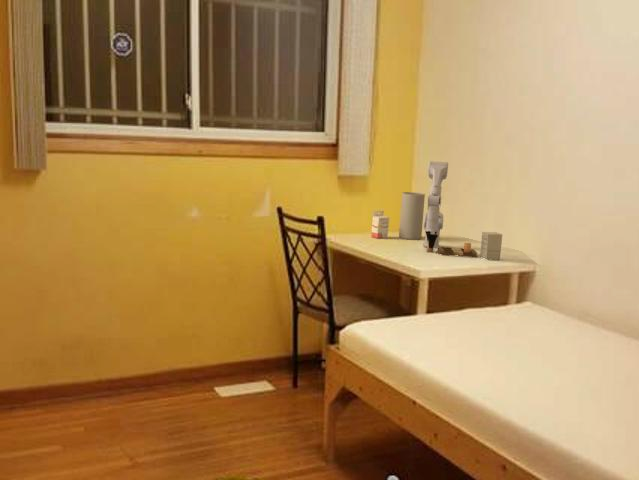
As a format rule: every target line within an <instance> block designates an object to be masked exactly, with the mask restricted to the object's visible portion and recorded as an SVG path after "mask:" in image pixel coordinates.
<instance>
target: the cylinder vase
mask: <svg viewBox="0 0 639 480" xmlns="http://www.w3.org/2000/svg"><path fill="white" fill-rule="evenodd" d="M425 197H426V194H425V193H421V192H411V191H410V192H408V191H407V192H406V191H405V192H404V191H403V192H402V193H401V204H400V205H401V206H400V216H399V229H398V230H399V232H398V237H399V238H400V239H404V240H411V241H412V240H413V241H415V240H421V239H422V236H423V226H424V213H425V212H424V210H425Z"/></svg>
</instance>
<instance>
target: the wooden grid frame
mask: <svg viewBox="0 0 639 480" xmlns="http://www.w3.org/2000/svg"><path fill="white" fill-rule="evenodd" d="M436 249H437V251H436V252H437V253H438V255H439V254H442V255H441V256H449V255H458V256H457V257H463V256H472V257H471V258H478V252H477V251H476V250H475V249H474V248H471V251H470V253H468V252H464V248H461V247H459V248H458V247H446V246H440V247H438V248H436Z"/></svg>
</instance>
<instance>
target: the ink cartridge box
mask: <svg viewBox="0 0 639 480" xmlns="http://www.w3.org/2000/svg"><path fill="white" fill-rule="evenodd" d="M384 213H385V211H384V210H374V211H373V214H372V223H371V236H370V237H371V238H373V239H388V238H389V237H388V236H389V223H390V217H389V216H385V215H384Z"/></svg>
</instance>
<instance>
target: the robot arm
mask: <svg viewBox="0 0 639 480" xmlns="http://www.w3.org/2000/svg"><path fill="white" fill-rule="evenodd" d="M448 171H449V162H448V161H432V160H430V161H429V162H428V170H427V172H428V173H427V174H428V178H429V179H430V180H432V184H430V186H429V191H428V195H427V200H426V201H427V202H426V203H427V208H426V210H427V211H426V212H424V213H425V214H424V216H423V230H425V231H424V233H425V234H424V235H425V236H424V242H423V243H422V245H423V247H424V248H427V243H428V245H429V248H433V247H434V248H436V249H437V248H438V247H441V246H440V232H441V230H443V227H444V215H443V213H442V212H441V210H440V208H441V206H442V184H443V180H446V179H447V178H448Z"/></svg>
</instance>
